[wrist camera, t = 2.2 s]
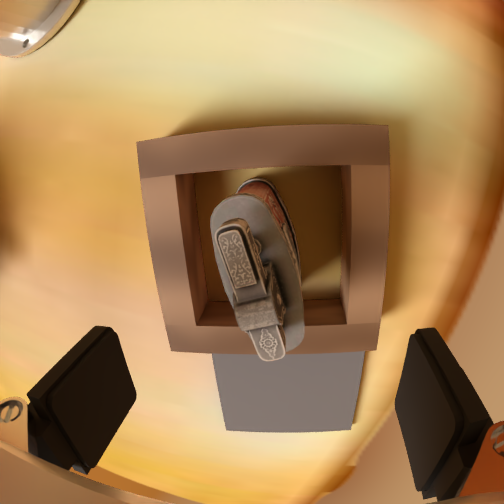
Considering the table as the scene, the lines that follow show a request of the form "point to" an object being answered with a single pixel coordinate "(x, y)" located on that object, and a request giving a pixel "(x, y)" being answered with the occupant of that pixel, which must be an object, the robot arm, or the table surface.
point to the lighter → (260, 266)
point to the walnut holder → (259, 156)
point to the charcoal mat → (289, 391)
